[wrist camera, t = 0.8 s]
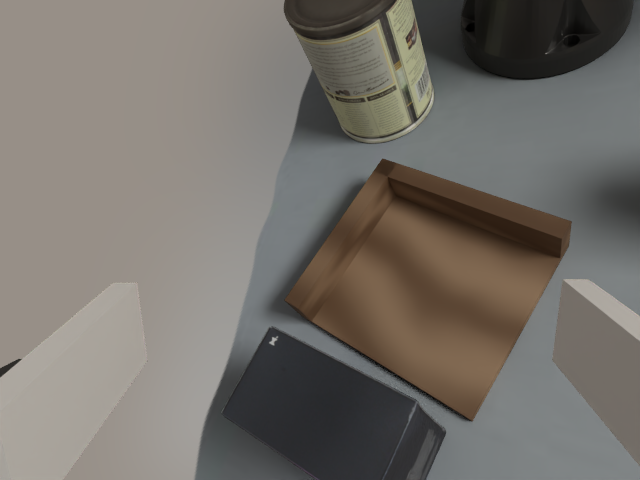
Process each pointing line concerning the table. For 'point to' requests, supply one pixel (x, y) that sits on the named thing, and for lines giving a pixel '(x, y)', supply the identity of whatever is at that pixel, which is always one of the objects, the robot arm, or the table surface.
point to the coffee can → (366, 63)
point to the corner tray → (432, 280)
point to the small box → (331, 415)
